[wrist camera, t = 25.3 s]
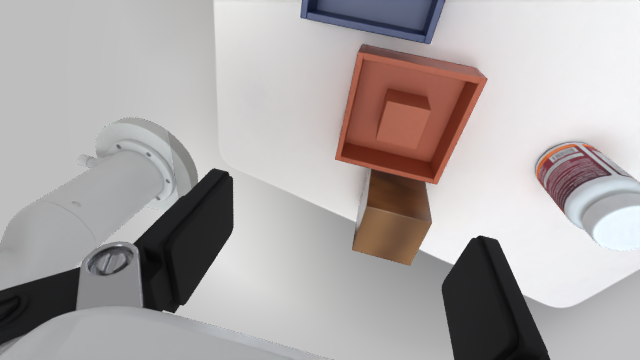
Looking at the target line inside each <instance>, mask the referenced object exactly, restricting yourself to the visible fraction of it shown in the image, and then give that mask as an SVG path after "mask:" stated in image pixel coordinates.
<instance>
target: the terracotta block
mask: <svg viewBox="0 0 640 360" xmlns="http://www.w3.org/2000/svg"><path fill="white" fill-rule="evenodd" d="M431 111H432V110H431V107H430V104H429V101H428V98H427V97H425V96H420V95H415V94H411V93H406V92H402V91H397V90H393V89H388V90H387V93H386V97H385V100H384V103H383V107H382V110H381V114H380V117H379V121H378V124H377V132H376V140H377V141H382V142H386V143H390V144H394V145H399V146H403V147H407V148H411V149H417V147H418V144H419V142H420V139H421V137H422V134H423V132H424V129H425V126H426V124H427V121H428V119H429V116H430V114H431Z"/></svg>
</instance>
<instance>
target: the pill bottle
mask: <svg viewBox="0 0 640 360" xmlns="http://www.w3.org/2000/svg"><path fill="white" fill-rule="evenodd" d="M535 174H536V177H537V179H538V181H539V182H540V184H541V185H542V186H543V187H544V189H545V190H546V191H547V193H548V194H549V195H550V197H551V198H552V199H553V200H554V202H555V203H556V204H557V205H558V207H559V208H560V209H561V211H562V212H563V213H564V214H565V216H566V217H567V218H568V219H569V220H570V222H571V223H573V224H574V225H575V226H577V227H578V228H581V229H583V230H585V231H586V232H587V233H588V234H589V235H590V236H591V238H592V239H593V240H594V241H595V242H596V243H597V244H598V245H600V246H601V247H603V248H606V249H609V250H616V251H627V250H634V249H639V248H640V182H638V181H637V180H636V179H635V178H633V177H632V176H631V175H629V174H628V173H627V172H625V171H624V170H623V169H622V168H620V167H619V166H618V165H616V164H615V163H614V162H612V161H611V160H610V159H608V158H607V157H606V156H605V155H603V154H602V153H601V152H599V151H598V150H597V149H595V148H594V147H592V146H590V145H588V144H585V143H578V142H573V143H565V144H561V145H559V146H556V147H554V148H552V149H551V150H549V151H548V152H546V153H545V154H544V155H543V156H542V157H541V158H540V160H539V161H538V163H537V165H536V169H535Z"/></svg>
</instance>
